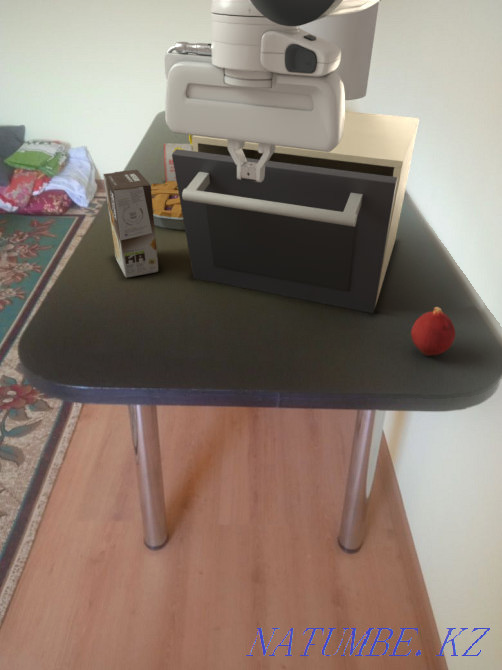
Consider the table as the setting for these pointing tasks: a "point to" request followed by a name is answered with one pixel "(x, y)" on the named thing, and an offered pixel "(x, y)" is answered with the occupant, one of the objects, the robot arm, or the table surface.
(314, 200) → the oven door
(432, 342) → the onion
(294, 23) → the robot arm
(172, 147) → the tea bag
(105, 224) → the table surface
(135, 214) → the coffee box
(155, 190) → the pie
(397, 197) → the oven
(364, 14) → the lamp
